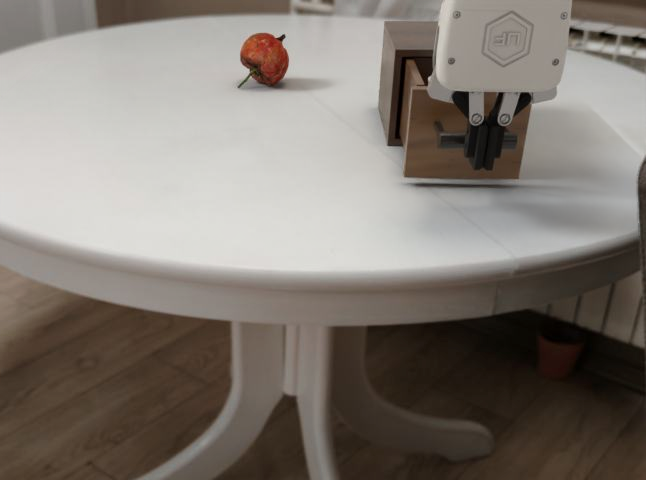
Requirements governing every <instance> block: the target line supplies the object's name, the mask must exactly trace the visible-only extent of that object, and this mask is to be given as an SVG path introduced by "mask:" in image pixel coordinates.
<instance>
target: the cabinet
mask: <svg viewBox="0 0 646 480" xmlns="http://www.w3.org/2000/svg"><path fill="white" fill-rule="evenodd" d="M438 21H439V20H438ZM438 21H437V20H384V22H383V36H382V49H381V61H380V75H379V89H378V101H377V108H378V112H379V117H380V120H381V124H382V125H381V126H382V128H383V133H384V137H385V141H386V145H387V146H392V147H393V146H396V147H397V146H399V147H400V146H402V147H403V145H402V141H401V138H400V134H399V131H398V127H399V116H400V105H401V94H402V83H403V72H404V60H405V57H433V52H434V45H435V38H436V32H437V26H438Z"/></svg>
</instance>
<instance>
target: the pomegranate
mask: <svg viewBox="0 0 646 480" xmlns="http://www.w3.org/2000/svg"><path fill="white" fill-rule="evenodd" d="M286 38H287V37H286V34H285V33H282V34H281V35H279V36H278V37H275V35H273V34H272V33H269V32H256V33H253V34H251V35H250V36H249V37H248V38H247V39H246V40H245V41H244V42H243V43H242V46H241V49H240V53H239V56H240V57H239V58H240V59H239V61H240V63H241V65H242V66H243V67H245V68H246V69H248V71H249V73H248V74H247V76H246V77H245V78H244V79H243V81H241V83H240V84H239V85H237V88H238V89H240V88H241V87H242V86H243V85H244V84H245V83H247V82H248V80H249V79H250V78H252V79H253V80H254V81H256V82H258V83H262V84H265V85H267V86H269V87H270V86H271V87H272V86H275V85H277V84H278V83H279V82H280V81H281V80H283V79H284V77H285V76H286V74H287V71H288V69H289V65H290V57H289V53H288V51H287V48H285V47H284V44H283V41H284V40H285V39H286Z"/></svg>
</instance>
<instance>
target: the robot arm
mask: <svg viewBox="0 0 646 480" xmlns="http://www.w3.org/2000/svg"><path fill="white" fill-rule="evenodd" d="M572 7H573V0H442V2H441V5H440V11H439V16H438V26H437V32H436V38H435V45H434V52H433V73H432V76H431V78H430V81H429V84H428V87H427V92H428V94H429V96H430V97H431V98H433V99H437V100H440V101H444V102H448V103H453V104H455V105H456V106H457V107H458V108H459V110H460V111H461V112H462V113H463V114H464V115H465V117H466V118H467V119H468V121H467V128H466V136H465V143H464V157H465V158H469V162H470V164H471V166H472V168H473V170H480V169H482V168H483V169H485V170H486V171H492V170H493V164H494V158H500V156H501V151H502V145H503V139H504V133H505V127H506V125H508V124H510V122H511V121H512V118H513V117H514V116H516V115H517V114H518V113H519V112H520V111H522V110H523V109H524V108H525V107H526V106H528V105H529V104H534V105H535V104H539V103H543V102H549V101H553V100H554V99H555V98H556V97H557V94H558V88H557V87H558V85H559V84H560V82H561V80H562V79H563V74H564V71H565V70H564V69H565V64H566V58H567V51H568V43H569V36H570V35H569V34H570V26H571V16H572ZM484 92H497V93H496V97H495V100H494V103H493V107H492V110H491V111H490V112H489V116H486V117H485V115H484Z"/></svg>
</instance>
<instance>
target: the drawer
mask: <svg viewBox="0 0 646 480" xmlns="http://www.w3.org/2000/svg"><path fill="white" fill-rule="evenodd" d="M432 73H433V57H405V60H404V72H403V83H402V94H401V105H400V116H399V127H398V131H399V134H400V138H401V141H402V145H403V146H402V147H403V151H404V157H403V168H402V175H403V178H405V179H406V178H408V179H409V178H410V179H467V180H469V179H470V180H471V179H472V180H473V179H475V180H519V178H520V173H521V167H522V163H523V162H522V161H523V156H524V150H525V145H526V139H527V132H528V128H529V122H530V116H531V112H532V104H529V105H528V106H526V107H525V108H524V109H523V110H522V111H520V112H519V113H518V114H517V115H516V116H514V117H513V118H512V121H511V122H510V124H508V125H506V127H505V133H504V139H503V145H502V151H501V156H500V158H494V164H493V170H492V171H486V170H485V169H483V168H482V169H480V170H473V168H472V166H471V164H470V162H469V158H465V157H464V143H465V136H466V128H467V121H468V119H467V118H466V117H465V115H464V114H463V113H462V112H461V111H460V110H459V108H458V107H457V106H456V105H455V104H453V103H448V102H444V101H440V100H437V99H433V98H431V97H430V96H429V94H428V92H427V87H428V77H430V76H432ZM496 93H497V92H484V115H485V117H486V116H489V112H490V111H491V110H492V107H493V103H494V100H495V97H496Z"/></svg>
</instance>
